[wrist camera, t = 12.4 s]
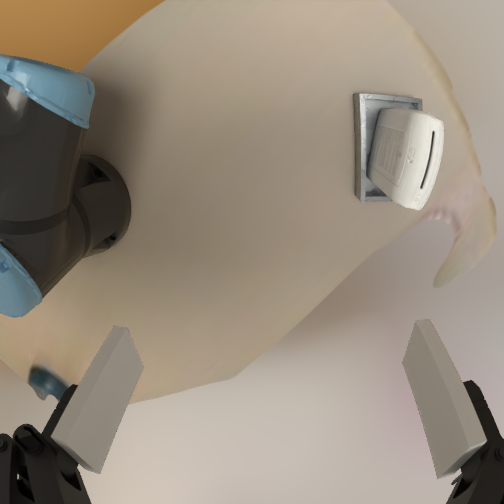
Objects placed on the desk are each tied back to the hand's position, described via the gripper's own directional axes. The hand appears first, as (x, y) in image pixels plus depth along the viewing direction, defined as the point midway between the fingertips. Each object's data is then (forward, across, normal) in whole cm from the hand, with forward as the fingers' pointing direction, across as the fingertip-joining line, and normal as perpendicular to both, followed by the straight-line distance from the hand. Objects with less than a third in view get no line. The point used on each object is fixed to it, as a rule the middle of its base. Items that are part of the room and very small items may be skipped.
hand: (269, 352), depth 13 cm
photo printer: (+28, -14, -5) cm, 32 cm away
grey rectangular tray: (+29, -14, -5) cm, 33 cm away
